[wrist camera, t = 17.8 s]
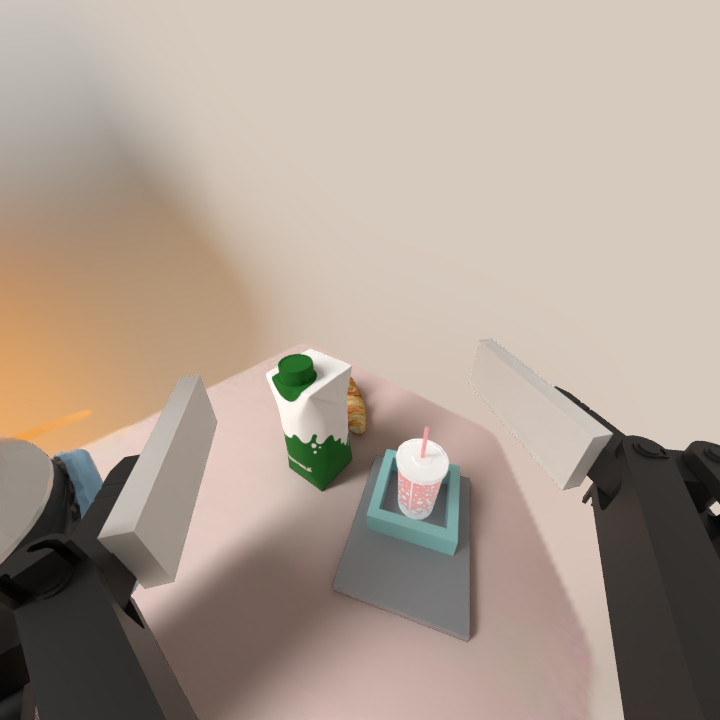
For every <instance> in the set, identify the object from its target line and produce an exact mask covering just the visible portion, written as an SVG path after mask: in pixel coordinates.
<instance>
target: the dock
mask: <svg viewBox="0 0 720 720" xmlns="http://www.w3.org/2000/svg"><path fill="white" fill-rule="evenodd" d="M396 453H397V451H394V450H390V449H386V452H385V456H384V457H381V456H377V455H376V456H375V459H374V462H373V465H372V468H371V471H370V474H369V477H368V480H367V483H366V486H365V489H364V492H363V495H362V498H361V501H360V504H359V507H358V510H357V513H356V516H355V519H354V522H353V525H352V528H351V531H350V534H349V537H348V540H347V543H346V546H345V549H344V552H343V555H342V558H341V561H340V564H339V567H338V570H337V573H336V576H335V579H334V582H333V585H332V587H333V590H334V591H337V592H339V593H342V594H344V595H347V596H349V597H352V598H355V599H357V600H360V601H362V602H365V603H368V604H370V605H373V606H375V607H378V608H380V609H383V610H386V611H388V612H391V613H393V614H396V615H399V616H401V617H404V618H406V619H409V620H411V621H414V622H417V623H419V624H422V625H424V626H427V627H430V628H432V629H435V630H437V631H440V632H443V633H445V634H448V635H450V636H453V637H455V638H458V639H461V640H463V641H466V642H468V640H469V638H470V478H466V477H462V476H460V466H457V465H453V464H449V466H448V471H447V474H446V476H445V477H444V478H443V479H442V482H441V485H440V488H439V491H438V494H437V497H436V500H435V503H434V506H433V509H432V512H431V513H430V515H429V516H428V517H426V518H424V519H418V520H416V519H412V518H409V517H407V516H406V515H405V514H404V513H403V512H402V511H401V509H400V507H399V503H398V468H397V462H396Z"/></svg>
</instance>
